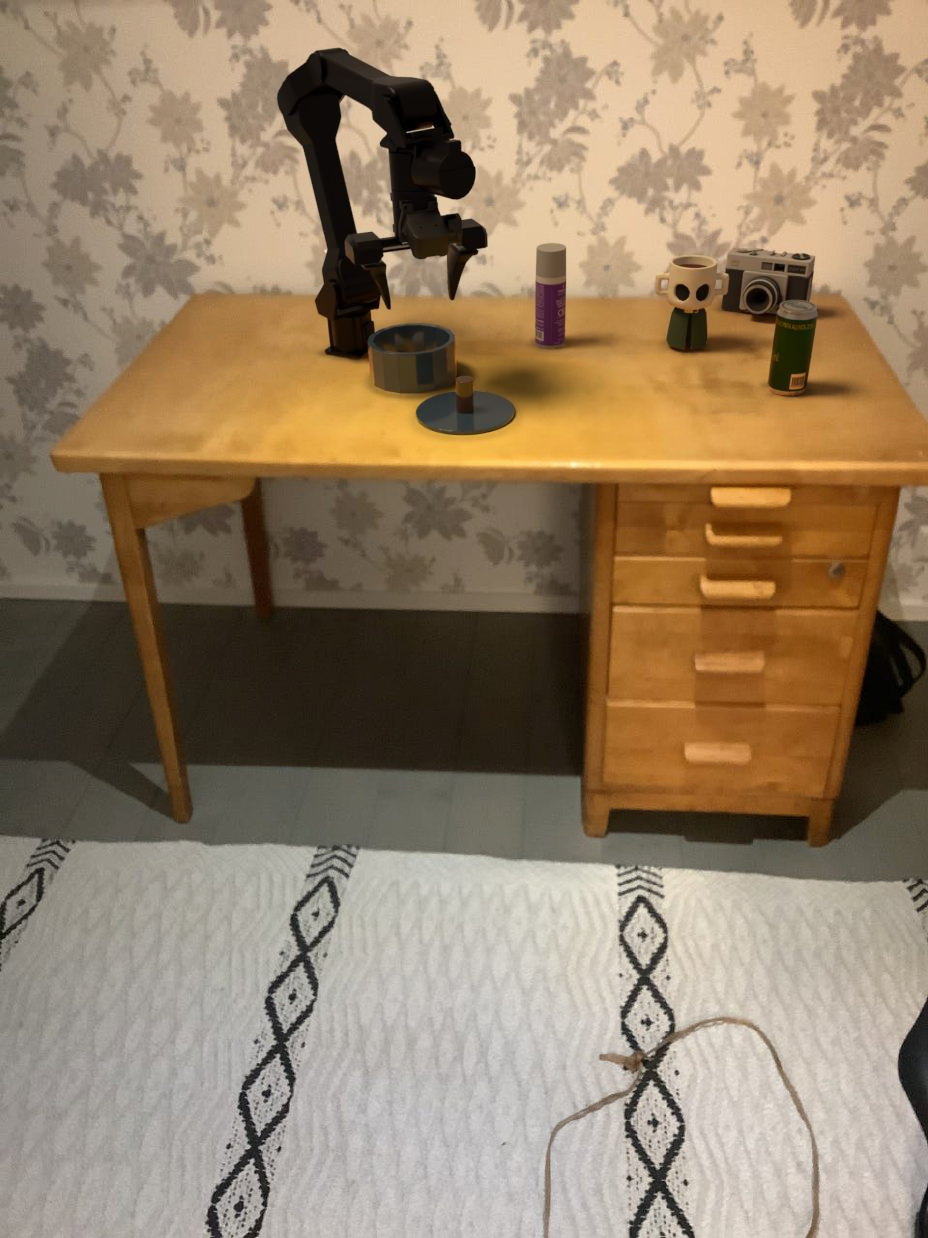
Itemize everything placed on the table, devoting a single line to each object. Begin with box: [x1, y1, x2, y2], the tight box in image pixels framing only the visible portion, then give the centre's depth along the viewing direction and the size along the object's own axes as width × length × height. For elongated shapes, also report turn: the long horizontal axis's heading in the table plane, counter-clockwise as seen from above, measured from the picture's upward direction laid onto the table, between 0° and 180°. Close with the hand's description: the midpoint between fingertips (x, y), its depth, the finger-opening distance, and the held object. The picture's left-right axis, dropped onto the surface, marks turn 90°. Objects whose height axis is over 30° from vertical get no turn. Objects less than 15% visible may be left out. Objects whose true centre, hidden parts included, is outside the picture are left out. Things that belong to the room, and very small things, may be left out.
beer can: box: [767, 300, 819, 397], centre depth 151 cm, size 5×5×12 cm
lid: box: [415, 375, 516, 436], centre depth 149 cm, size 14×14×6 cm
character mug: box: [653, 254, 729, 350], centre depth 166 cm, size 11×7×13 cm, turn 84°
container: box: [534, 242, 567, 350], centre depth 168 cm, size 5×5×15 cm
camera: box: [721, 247, 816, 318], centre depth 177 cm, size 14×9×10 cm, turn 55°
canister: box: [367, 322, 458, 395], centre depth 160 cm, size 13×13×6 cm
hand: (420, 304), depth 152 cm, fingers open, 9 cm apart
